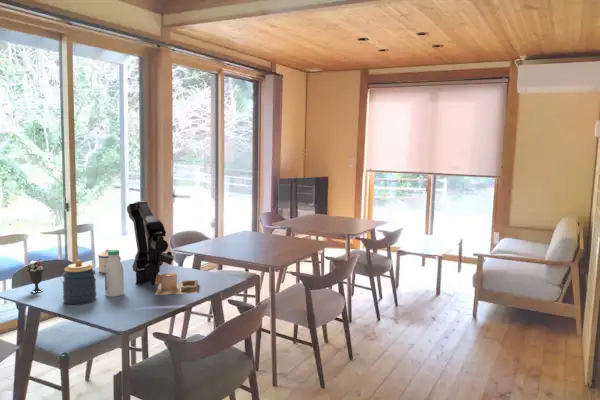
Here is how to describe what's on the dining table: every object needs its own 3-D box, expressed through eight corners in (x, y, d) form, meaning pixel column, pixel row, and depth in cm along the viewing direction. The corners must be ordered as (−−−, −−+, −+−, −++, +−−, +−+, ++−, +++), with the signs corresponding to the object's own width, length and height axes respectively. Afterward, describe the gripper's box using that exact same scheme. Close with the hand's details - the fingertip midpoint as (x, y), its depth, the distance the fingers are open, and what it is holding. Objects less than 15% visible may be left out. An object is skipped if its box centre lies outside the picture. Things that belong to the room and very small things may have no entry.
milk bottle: (127, 292, 216) (126, 249, 213) (116, 298, 209) (114, 253, 206) (113, 290, 218) (112, 247, 216) (101, 295, 211) (100, 251, 209)
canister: (75, 307, 196) (73, 265, 194) (56, 301, 203) (55, 260, 201) (103, 298, 207) (101, 259, 205) (84, 293, 214) (83, 254, 212)
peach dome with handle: (177, 286, 224) (177, 272, 223) (176, 290, 217) (176, 276, 216) (153, 287, 222) (152, 273, 221) (151, 291, 215) (150, 277, 214)
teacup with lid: (105, 274, 245) (104, 252, 244) (95, 271, 250) (94, 249, 249) (125, 269, 255) (125, 248, 254) (115, 266, 260) (114, 245, 259)
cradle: (155, 296, 211) (155, 290, 211) (159, 286, 226) (158, 280, 226) (196, 295, 214) (196, 288, 214) (197, 284, 230) (197, 278, 229)
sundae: (48, 290, 218) (47, 258, 216) (35, 294, 211) (33, 261, 210) (38, 288, 220) (37, 256, 218) (25, 292, 214) (23, 259, 212)
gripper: (170, 252, 208) (171, 287, 210) (174, 243, 227) (174, 275, 229) (144, 253, 206) (145, 288, 208) (149, 244, 225) (150, 276, 227)
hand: (154, 281), depth 218 cm, fingers open, 9 cm apart
